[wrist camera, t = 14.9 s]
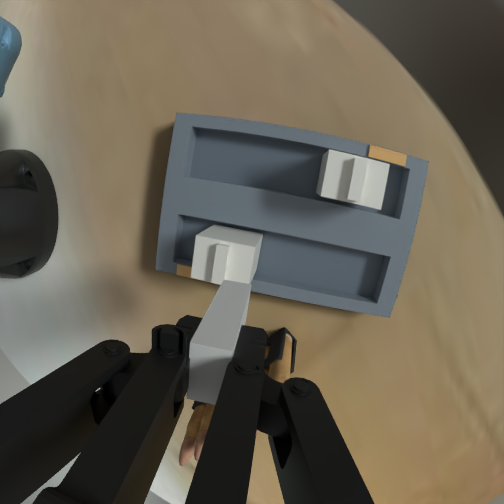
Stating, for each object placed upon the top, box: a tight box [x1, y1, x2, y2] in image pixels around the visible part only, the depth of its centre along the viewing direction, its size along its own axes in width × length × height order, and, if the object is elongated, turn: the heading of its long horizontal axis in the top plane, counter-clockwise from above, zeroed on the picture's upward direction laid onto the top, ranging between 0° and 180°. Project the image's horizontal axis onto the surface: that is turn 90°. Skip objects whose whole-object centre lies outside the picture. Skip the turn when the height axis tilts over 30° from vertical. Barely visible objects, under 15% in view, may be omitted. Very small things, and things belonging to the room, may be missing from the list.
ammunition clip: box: [179, 328, 297, 466], centre depth 24 cm, size 11×2×12 cm, turn 131°
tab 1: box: [191, 224, 263, 285], centre depth 23 cm, size 4×3×6 cm
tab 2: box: [316, 149, 390, 210], centre depth 21 cm, size 4×3×6 cm
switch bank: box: [155, 113, 429, 318], centre depth 25 cm, size 20×13×3 cm, turn 80°
